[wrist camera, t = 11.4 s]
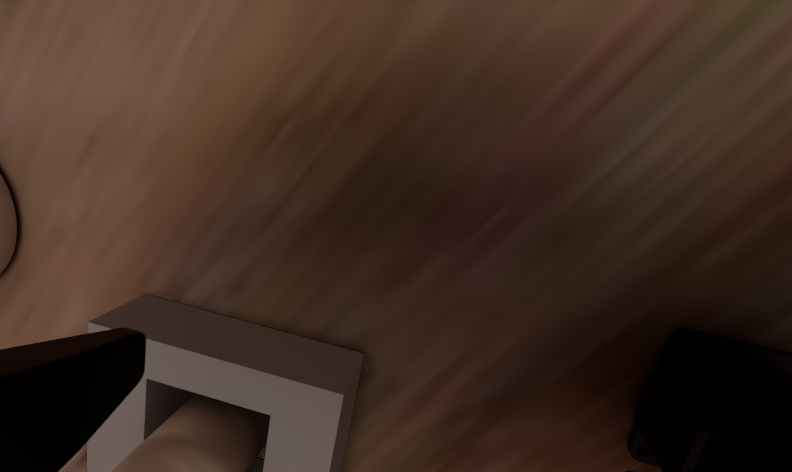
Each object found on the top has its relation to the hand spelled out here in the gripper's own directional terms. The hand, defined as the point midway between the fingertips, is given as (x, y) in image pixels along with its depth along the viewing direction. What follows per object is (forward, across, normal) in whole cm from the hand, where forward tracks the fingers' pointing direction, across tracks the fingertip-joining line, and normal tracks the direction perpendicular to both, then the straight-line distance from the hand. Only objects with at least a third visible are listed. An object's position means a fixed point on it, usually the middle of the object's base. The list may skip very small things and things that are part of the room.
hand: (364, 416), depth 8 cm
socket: (+12, +8, +14) cm, 20 cm away
